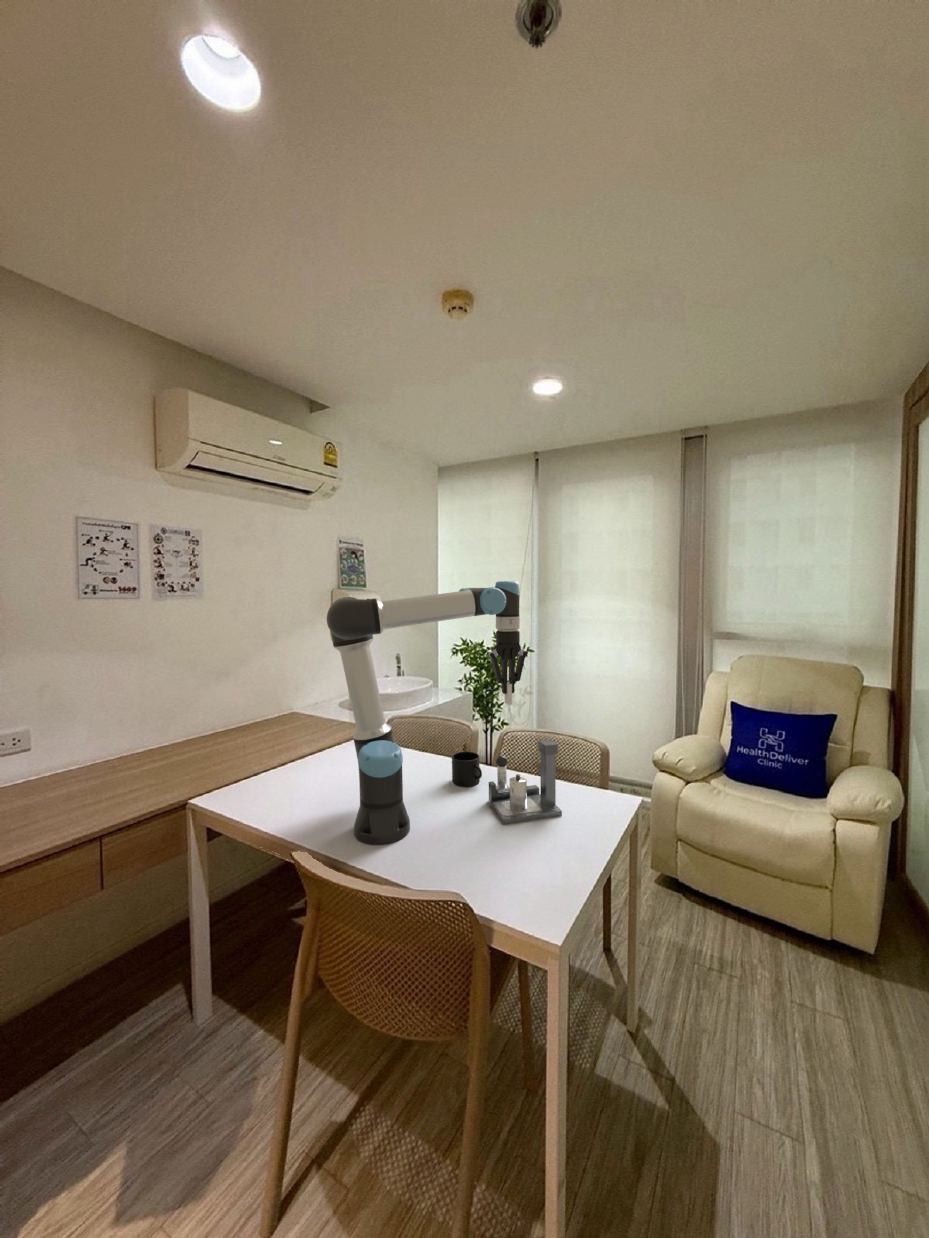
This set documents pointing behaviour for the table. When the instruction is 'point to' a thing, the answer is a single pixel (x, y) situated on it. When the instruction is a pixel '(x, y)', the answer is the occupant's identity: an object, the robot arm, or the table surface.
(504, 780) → the lever
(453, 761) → the mug
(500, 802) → the press
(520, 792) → the housing
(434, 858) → the table surface
